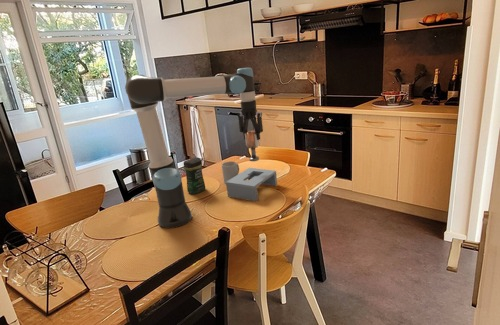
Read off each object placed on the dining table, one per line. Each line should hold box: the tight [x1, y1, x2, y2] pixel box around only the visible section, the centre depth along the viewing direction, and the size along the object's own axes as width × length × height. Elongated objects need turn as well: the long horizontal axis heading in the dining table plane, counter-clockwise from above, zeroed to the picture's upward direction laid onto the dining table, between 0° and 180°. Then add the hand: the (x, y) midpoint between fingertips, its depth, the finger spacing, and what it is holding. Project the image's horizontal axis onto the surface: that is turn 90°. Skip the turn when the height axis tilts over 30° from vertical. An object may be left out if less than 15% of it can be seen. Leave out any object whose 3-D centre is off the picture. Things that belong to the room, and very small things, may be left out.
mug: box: [221, 160, 240, 185], centre depth 191 cm, size 12×8×11 cm
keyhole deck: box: [225, 167, 278, 202], centre depth 175 cm, size 22×17×8 cm
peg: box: [246, 130, 260, 162], centre depth 172 cm, size 5×5×15 cm
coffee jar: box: [183, 156, 206, 195], centre depth 181 cm, size 10×8×19 cm
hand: (252, 145), depth 172 cm, fingers closed on peg, 5 cm apart
